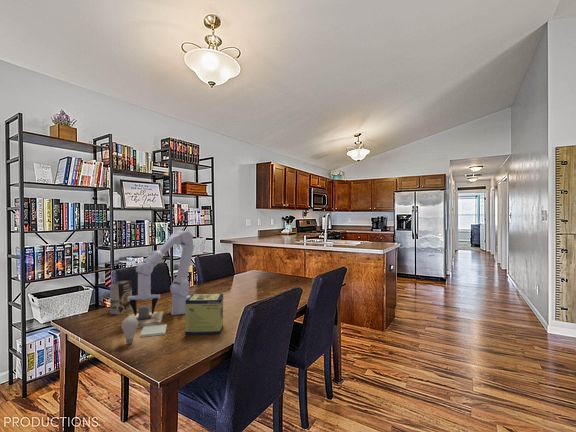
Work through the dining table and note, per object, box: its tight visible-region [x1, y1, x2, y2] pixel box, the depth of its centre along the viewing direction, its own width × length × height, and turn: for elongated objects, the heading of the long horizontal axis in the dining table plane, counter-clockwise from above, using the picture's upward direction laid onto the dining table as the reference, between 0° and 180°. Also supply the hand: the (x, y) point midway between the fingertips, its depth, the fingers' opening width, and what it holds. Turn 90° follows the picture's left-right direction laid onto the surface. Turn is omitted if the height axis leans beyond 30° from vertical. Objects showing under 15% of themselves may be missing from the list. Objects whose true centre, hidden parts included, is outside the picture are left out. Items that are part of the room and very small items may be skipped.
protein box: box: [184, 293, 224, 336], centre depth 140 cm, size 10×16×16 cm
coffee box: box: [109, 280, 133, 316], centre depth 165 cm, size 9×6×16 cm
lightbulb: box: [120, 316, 138, 345], centre depth 125 cm, size 6×6×11 cm
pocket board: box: [127, 310, 164, 329], centre depth 150 cm, size 16×16×2 cm
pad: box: [139, 323, 168, 338], centre depth 138 cm, size 10×10×1 cm
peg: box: [138, 304, 151, 320], centre depth 150 cm, size 4×4×8 cm
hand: (144, 314), depth 150 cm, fingers open, 7 cm apart
